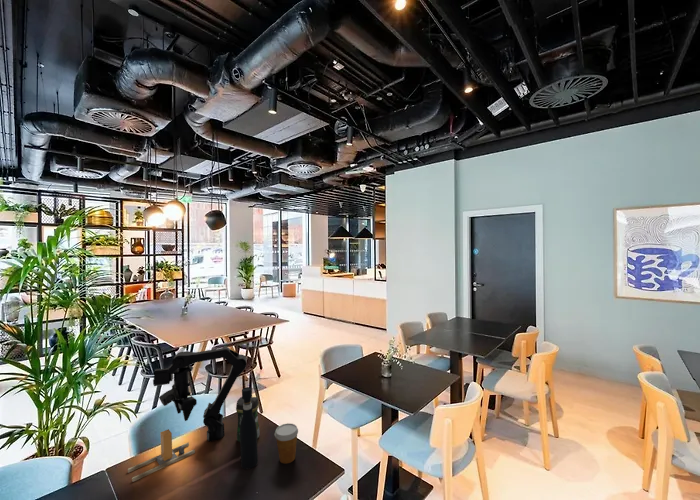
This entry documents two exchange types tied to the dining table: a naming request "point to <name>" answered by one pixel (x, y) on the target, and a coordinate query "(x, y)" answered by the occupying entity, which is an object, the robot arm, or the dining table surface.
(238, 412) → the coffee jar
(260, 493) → the dining table surface
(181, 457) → the rail board
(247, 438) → the wine bottle
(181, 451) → the keeper hook
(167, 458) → the tan slider block
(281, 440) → the disposable coffee cup
